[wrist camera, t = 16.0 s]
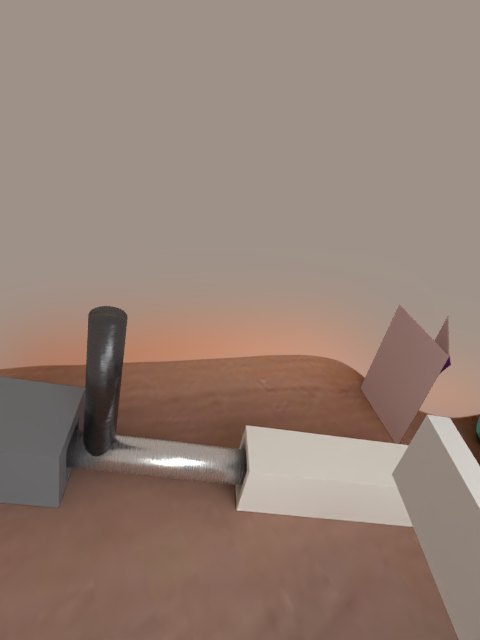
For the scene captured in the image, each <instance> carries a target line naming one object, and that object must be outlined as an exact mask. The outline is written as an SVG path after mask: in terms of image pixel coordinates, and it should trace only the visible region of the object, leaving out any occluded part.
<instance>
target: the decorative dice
mask: <svg viewBox="0 0 480 640" xmlns="http://www.w3.org/2000/svg"><path fill="white" fill-rule="evenodd" d="M476 432H477V434H478V437H479V438H480V417H479V419H478V422H477V426H476Z"/></svg>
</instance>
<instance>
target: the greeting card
mask: <svg viewBox="0 0 480 640" xmlns="http://www.w3.org/2000/svg"><path fill="white" fill-rule="evenodd" d="M448 330H449V327H448V317H447V319H446V321H445V323H444V325H443V326H442V328H441V330H440V332H439V334H438V336H437V337H436V339H435V341H434V340H433V339H432V338H431V337H430V336H429V335H428V334H427V333H426V332H425V331H424V330H423V329H422V328H421V326H419V324H417V322H416V321H415V320H414V319H413V318H412V317H411V316H410V315H409V314H408V313H407V312H406V311H405V310H404V309H403V308H402V307H401V306H400V305H399V307H398V309H397V311H396V313H395V316H394V317H393V319H392V322H391V324H390V326H389V328H388V330H387V332H386V334H385V337H384V339H383V341H382V343H381V345H380V347H379V350H378V352H377V354H376V356H375V358H374V360H373V363H372V365H371V367H370V369H369V371H368V373H367V375H366V377H365V380H364V382H363V384H362V386H361V388H360V389H361V390H362V392H363V393H364V395H365V396H366V398H367V400H368V401H369V403H370V404H371V406H372V408H373V409H374V411H375V412H376V414H377V416H378V417H379V419H380V420H381V422H382V424H383V425H384V427H385V428H386V430H387V431H388V433H389V435H390V436H391V438H392V439H393V441H394V443H395V444H399V443H400V442H401V440H402V438H403V436H404V435H405V433H406V431H407V429H408V428H409V426H410V424H411V422H412V421H413V419H414V417H415V415H416V414H417V412H418V410H419V408H420V407H421V405H422V403H423V401H424V400H425V398H426V396H427V394H428V393H429V391H430V389H431V387H432V386H433V383H434V382H435V380H436V379H437V377H438V375H439V374H440V373H441V372H442V371H443V370H445V369H446V368H447V367H448V366H449V365H450V364H451V363H450V356H449V331H448Z"/></svg>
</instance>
